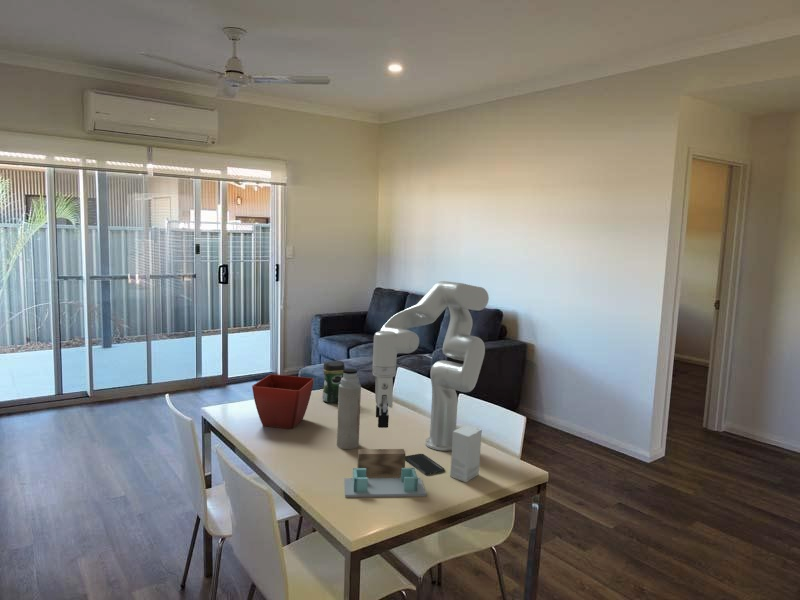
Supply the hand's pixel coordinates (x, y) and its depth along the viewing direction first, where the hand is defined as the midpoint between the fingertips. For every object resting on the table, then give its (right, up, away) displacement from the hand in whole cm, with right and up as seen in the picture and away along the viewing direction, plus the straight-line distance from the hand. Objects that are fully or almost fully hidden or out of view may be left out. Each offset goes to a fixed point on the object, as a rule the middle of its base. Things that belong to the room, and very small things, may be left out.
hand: (381, 422), depth 179 cm
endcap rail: (+1, -18, -10) cm, 21 cm away
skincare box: (+27, -18, +1) cm, 32 cm away
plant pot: (-41, -10, +44) cm, 61 cm away
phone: (+14, -17, +9) cm, 23 cm away
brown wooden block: (0, -17, +2) cm, 17 cm away
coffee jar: (-25, -7, +76) cm, 80 cm away
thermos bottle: (-13, -14, +23) cm, 30 cm away
